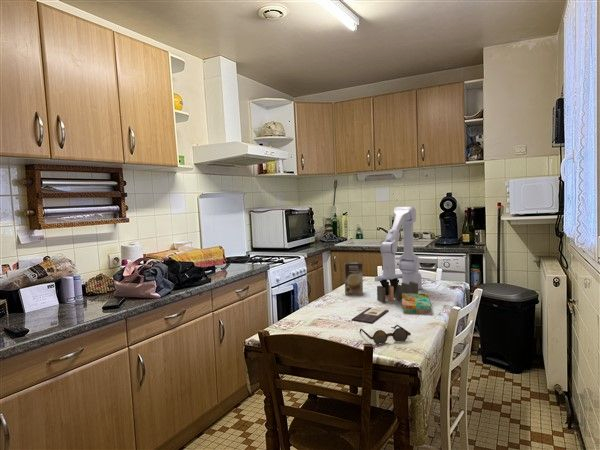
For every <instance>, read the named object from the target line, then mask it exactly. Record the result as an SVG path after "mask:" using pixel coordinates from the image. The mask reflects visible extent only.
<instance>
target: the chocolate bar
mask: <svg viewBox="0 0 600 450" xmlns="http://www.w3.org/2000/svg"><path fill="white" fill-rule="evenodd" d="M388 312H389V309H383V308H382V309H381V308H373V307H368V308H366V309H365V310H363V311H362V312H360V313H359V314H357V315H356V316H354V317H353V318H351V321H353V322H358V323H366V324H371V325H372V324H374V323H375V322H377V321H378V320H379V319H380V318H382V317H383V316H384V315H386V314H387V313H388Z"/></svg>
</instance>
